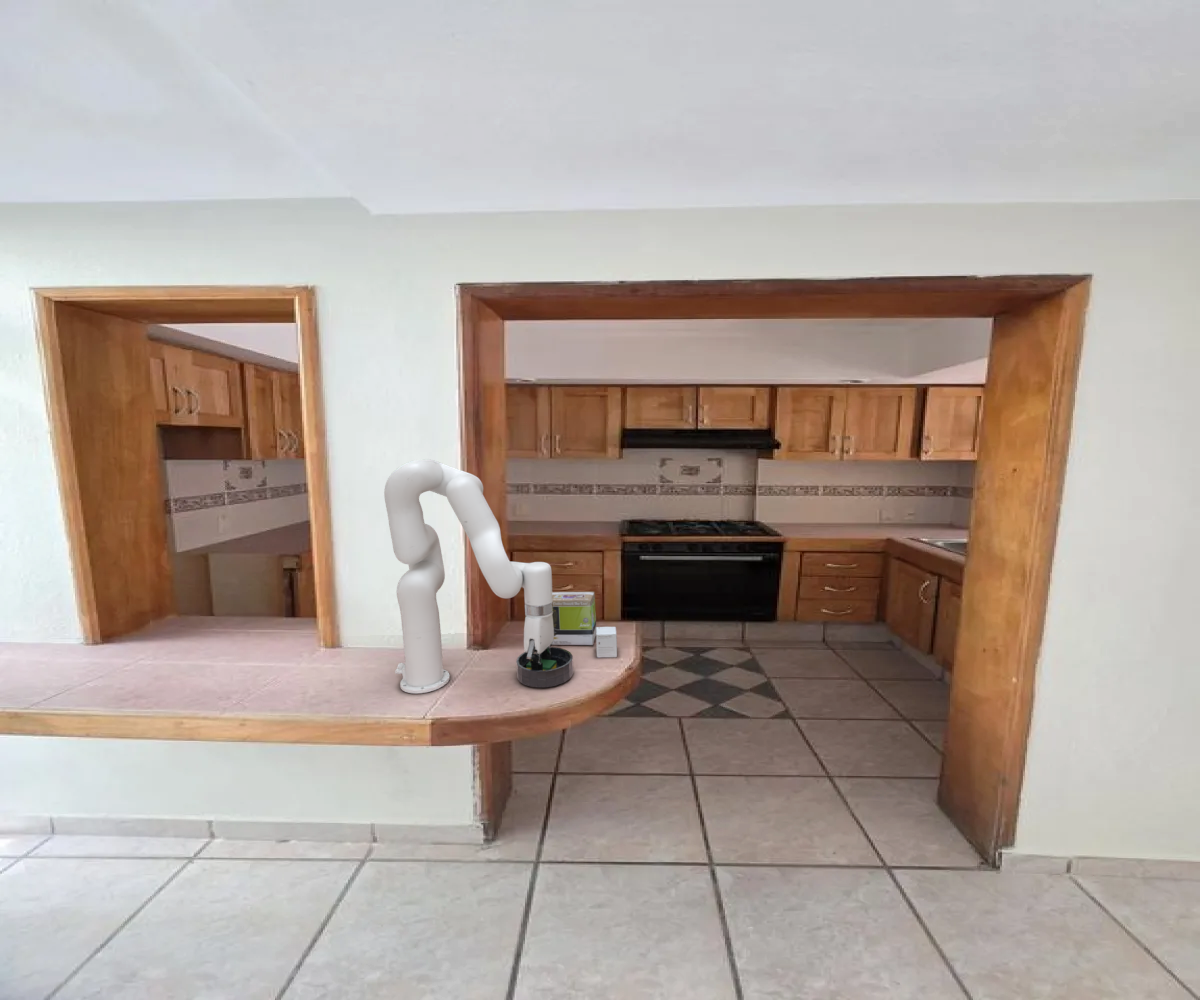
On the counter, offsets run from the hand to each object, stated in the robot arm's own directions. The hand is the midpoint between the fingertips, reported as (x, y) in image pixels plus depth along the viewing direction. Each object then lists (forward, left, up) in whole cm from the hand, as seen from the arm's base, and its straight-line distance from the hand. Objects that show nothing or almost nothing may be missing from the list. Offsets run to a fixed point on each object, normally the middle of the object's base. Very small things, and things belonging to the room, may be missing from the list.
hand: (541, 671), depth 136 cm
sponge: (0, 0, 0) cm, 0 cm away
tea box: (-1, +25, -1) cm, 25 cm away
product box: (+13, +18, -1) cm, 22 cm away
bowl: (+1, 0, -1) cm, 2 cm away
